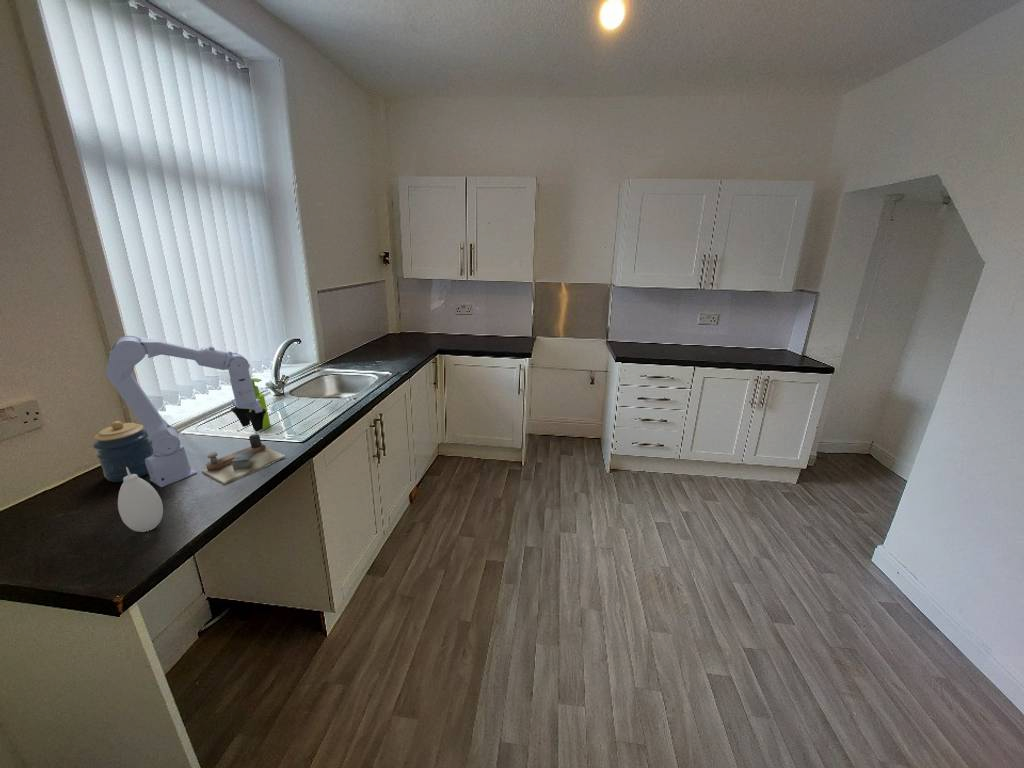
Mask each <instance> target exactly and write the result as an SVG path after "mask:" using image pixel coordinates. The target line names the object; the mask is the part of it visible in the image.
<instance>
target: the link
mask: <svg viewBox="0 0 1024 768" xmlns="http://www.w3.org/2000/svg"><path fill="white" fill-rule="evenodd" d="M248 438H249V442H250V446H249V447H246V448H243V449H241V450H238V451H236V452H233V453H230V454H228V455H226V456H222V457H220V458H217V456H218V455H219V454H218V452H216V451H215V452H210V453H208V454H207V455H206V456H207V458H208V459H210V460H209V461H208V462H207V463H206V464H205V467H206V468H207V470H217V469H220V468H222V467H223V466H224V465H227V464H229V463H232V462H231V461H232V460H233V459H234V457H235V456H236V454H237V453H238V452H242V451H249V450H254V453H256V452H259V451H261V450H264V449H266V444H264V443H262V440H261V437H260V434H259V433H255V434H251V435H250V436H248ZM254 453H253V454H254Z"/></svg>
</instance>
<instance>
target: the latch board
mask: <svg viewBox="0 0 1024 768" xmlns="http://www.w3.org/2000/svg"><path fill="white" fill-rule="evenodd" d="M265 447H266V446H265ZM284 457H286V455H285V454H283V453H280V452H278V451H275V450H274V449H271V448H269V447H266V449H264V450H261V451H259V452H256V453H254V454H253V455H252V456H251V458H250V460H251V464H252V466H251V467H250V468H247V469H240V470H234V469H233V466H232V463H229V464H227V465H224V466H223V467H222V468H220V469H217V470H207V467H206V468H203V469H201V472H202V474H204V475H207V476H208V477H210V478H212V479H213V480H215V481H217V482H218V483H221V484H222V485H228V484H229V482H230V483H232V482H234V481H236V480H239V479H241V478H243V477H246V476H247V474H248V475H250V474H252V473H254V472H253V471H255V470H257V469H259V468H261V469H263V468H262V467H264V466H266V465H268V464H270V463H272V462H274V461H276V460H279V459H281V458H284ZM286 458H287V457H286ZM284 459H285V458H284ZM279 461H280V460H279ZM270 465H271V464H270ZM268 466H269V465H268ZM266 467H267V466H266ZM264 468H265V467H264ZM259 470H260V469H259ZM257 471H258V470H257ZM251 472H252V473H251ZM255 472H256V471H255ZM249 473H250V474H249ZM245 475H246V476H245Z"/></svg>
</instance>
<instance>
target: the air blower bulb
mask: <svg viewBox="0 0 1024 768" xmlns="http://www.w3.org/2000/svg"><path fill="white" fill-rule="evenodd" d="M126 470H127V474H128V476H125V477H124V478H123V482H122V484H121V486H120V489H119V491H118V497H117V509H118V513H119V515H120V518H121V521H122V522H123V524H125V526H126V527H128V528H129V529H130V530H132V531H134V532H140V533H146V531H147V532H150V531H152V530H153V529H155V528H157V526H158V525H159V524H160V522H161V521H162V518H163V516H164V515H163V514H164V504H163V501H162V498H161V496H160V495H159V493H158V491H157V490H156V488H154V486H153V485H151V484H150V483H149V482H148V481H146V480H145V479H143V478H142V477H138V476H137V475H136V474H130V472H129V469H128V468H127V467H126ZM149 530H150V531H149Z"/></svg>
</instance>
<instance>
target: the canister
mask: <svg viewBox="0 0 1024 768" xmlns="http://www.w3.org/2000/svg"><path fill="white" fill-rule="evenodd" d="M110 425H111V426H108V427H105V428H103V429H102V430H100V431H99V432H98V433H97V434H96V435H94V437H93V439H94V440H95V442H94V443H93V445H92V447H93V449H95V450H97V454H96V457H97V458H98V461H99V463H100V466H101V469H102V471H103V476H104V478H105V479H106V480H107V481H108V482H110V481H111V483H121V482H122V483H123V482H124V481H123V478H124V477H125V476H128V474H127V470H126V467H127V468H128V469H129V472H130V474H136V475H137V476H138V477H139V478H142V477H144V476H146V475H149V473H148V470H147V467H146V464H145V459H146V458H148V457H150V456H152V455H153V451H154V450H153V448H152V440H151V439H150V437H149V436H148V434H147V431H146V429H145V428H144V426H143V425H142V424H141V423H140V424H139V423H136V422H125V423H123V421H120V420H115V421H113V422H112V423H111V424H110Z"/></svg>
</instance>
